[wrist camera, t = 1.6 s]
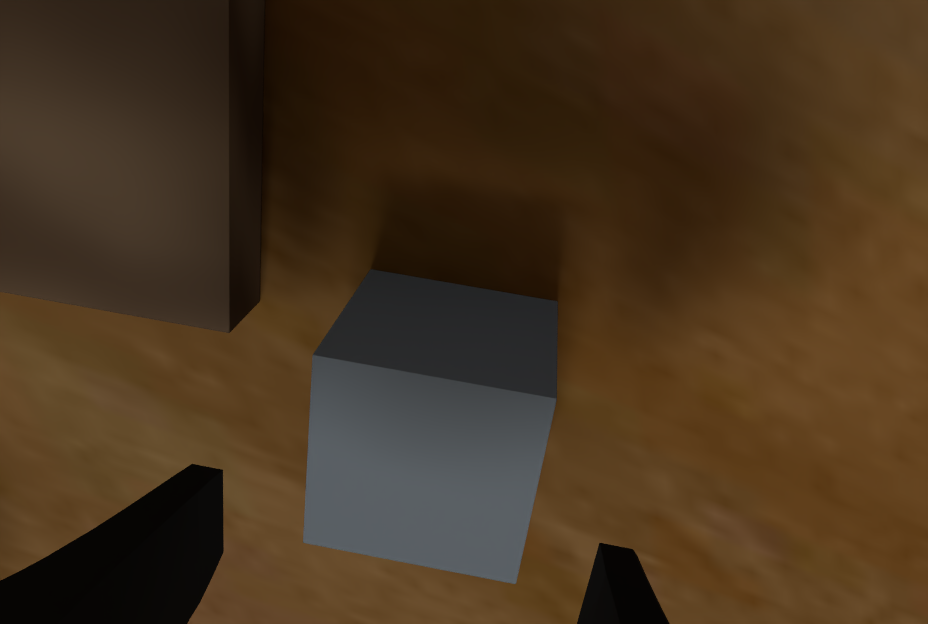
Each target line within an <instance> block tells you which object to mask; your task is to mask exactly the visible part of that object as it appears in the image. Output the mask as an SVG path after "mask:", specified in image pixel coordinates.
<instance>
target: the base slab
mask: <svg viewBox="0 0 928 624" xmlns="http://www.w3.org/2000/svg"><path fill="white" fill-rule="evenodd" d="M264 16H265V0H0V292H5V293H10V294H16V295H21V296H27V297H32V298H38V299H43V300H49V301H55V302H60V303H66V304H71V305H77V306H82V307H88V308H93V309H99V310H105V311H110V312H116V313H121V314H127V315H132V316H138V317H143V318H149V319H154V320H160V321H166V322H171V323H177V324H182V325H188V326H193V327H199V328H204V329H210V330H216V331H221V332H227V333H230V332H231V331H232V330H233V329H234V328H235V327H236V326H237V325H238V323H239V322H240V321H241V320H242V319H243V318H244V317H245V316H246V315H247V314H248V313H249V312H250V311H251V310H252V309H253V308H254V307H255V306H256V305H257V304H258V303H259V302H260V246H261V189H262V131H263V74H264Z"/></svg>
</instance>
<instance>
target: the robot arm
mask: <svg viewBox="0 0 928 624" xmlns="http://www.w3.org/2000/svg"><path fill="white" fill-rule="evenodd" d="M222 554H223V470H221V469H216V468H211V467H205V466H200V465H195V464H191V465H190V466H188V467H187V468H185V469H184V470H182V471H181V472H179V473H177V474H176V475H174V476H173V477H171V478H170V479H168V480H167V481H165V482H164V483H162V484H161V485H159V486H158V487H157V488H155V489H154V490H152V491H151V492H149V493H148V494H146V495H145V496H143V497H142V498H140V499H139V500H137V501H136V502H134V503H133V504H131V505H130V506H128V507H127V508H125V509H124V510H122V511H121V512H119V513H117V514H116V515H114V516H113V517H111V518H110V519H108V520H107V521H105V522H103V523H102V524H100V525H99V526H97V527H96V528H94V529H93V530H91V531H89V532H88V533H86V534H84V535H83V536H81V537H79V538H77V539H76V540H74V541H72V542H71V543H69V544H67V545H66V546H64V547H62V548H61V549H59V550H57V551H55V552H54V553H52V554H50V555H49V556H47V557H45V558H43V559H42V560H40V561H38V562H36V563H34V564H32V565H31V566H29V567H27V568H25V569H23V570H21V571H19V572H17V573H15V574H13V575H11V576H9V577H7V578H5V579H3V580H1V581H0V624H187V623H188V621H189V619H190V618H191V616H192V614H193V613H194V611H195V610H196V608H197V606H198V605H199V603H200V601H201V599H202V597H203V595H204V593H205V591H206V589H207V587H208V585H209V583H210V580H211V578H212V576H213V574H214V572H215V570H216V567H217V565H218V563H219V561H220V558H221V556H222ZM577 624H669V622H668V620H667V618H666V616H665V614H664V612H663V610H662V608H661V606H660V604H659V602H658V600H657V598H656V596H655V594H654V592H653V590H652V587H651V585H650V583H649V581H648V579H647V577H646V575H645V572H644V570H643V568H642V566H641V563H640V561H639V559H638V556H637V555H636V553H635V552H634V550H633V549H629V548H624V547H619V546H614V545H608V544H603V543H599V547H598V550H597V554H596V558H595V561H594V565H593V568H592V572H591V575H590V579H589V583H588V586H587V590H586V593H585V597H584V600H583V604H582V608H581V611H580V615H579V618H578V622H577Z"/></svg>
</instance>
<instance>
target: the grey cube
mask: <svg viewBox="0 0 928 624" xmlns="http://www.w3.org/2000/svg"><path fill="white" fill-rule="evenodd" d="M557 322H558V301H552V300H547V299H541V298H535V297H529V296H523V295H518V294H512V293H506V292H500V291H494V290H489V289H483V288H477V287H471V286H465V285H459V284H454V283H448V282H442V281H436V280H430V279H425V278H419V277H413V276H407V275H401V274H395V273H390V272H384V271H378V270H372V269H371V270H370V271H369V272H368V274H367V275H366V277H365V278H364V280H363V281H362V283H361V284H360V286H359V287H358V289H357V290H356V292H355V293H354V295H353V296H352V298H351V299H350V301H349V302H348V304H347V305H346V307H345V308H344V309H343V311H342V312H341V314H340V315H339V317H338V318H337V320H336V321H335V323H334V324H333V326H332V327H331V329H330V330H329V332H328V333H327V335H326V336H325V338H324V339H323V341H322V342H321V344H320V345H319V346H318V348H317V349H316V351H315V352H314V354H313V361H312V380H311V400H310V419H309V439H308V458H307V478H306V497H305V517H304V536H303V543H308V544H313V545H318V546H323V547H328V548H333V549H338V550H344V551H349V552H354V553H359V554H364V555H369V556H374V557H379V558H385V559H390V560H395V561H400V562H405V563H410V564H415V565H421V566H426V567H431V568H436V569H441V570H446V571H451V572H456V573H462V574H467V575H472V576H477V577H482V578H487V579H492V580H498V581H503V582H508V583H513V584H516V581H517V576H518V572H519V567H520V563H521V558H522V553H523V549H524V544H525V540H526V535H527V531H528V526H529V522H530V517H531V513H532V508H533V504H534V499H535V495H536V490H537V486H538V481H539V477H540V472H541V467H542V463H543V458H544V454H545V449H546V445H547V440H548V436H549V431H550V427H551V422H552V418H553V413H554V409H555V404H556V400H557Z"/></svg>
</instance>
